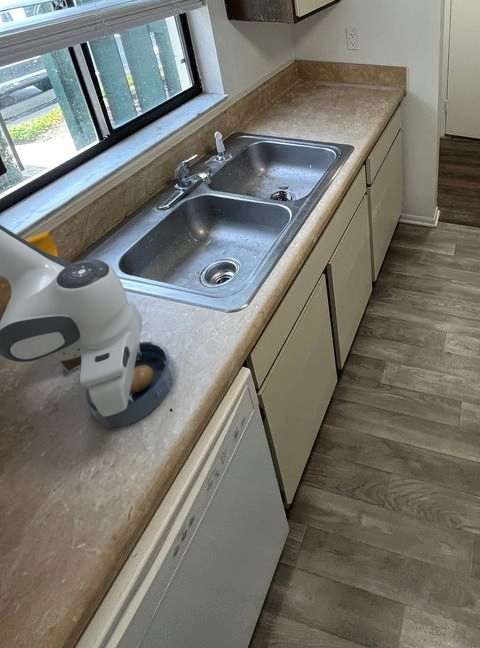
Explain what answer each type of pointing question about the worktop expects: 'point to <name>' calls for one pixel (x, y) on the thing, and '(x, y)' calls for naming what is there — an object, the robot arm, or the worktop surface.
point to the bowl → (149, 397)
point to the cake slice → (69, 357)
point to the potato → (141, 378)
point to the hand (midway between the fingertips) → (133, 380)
